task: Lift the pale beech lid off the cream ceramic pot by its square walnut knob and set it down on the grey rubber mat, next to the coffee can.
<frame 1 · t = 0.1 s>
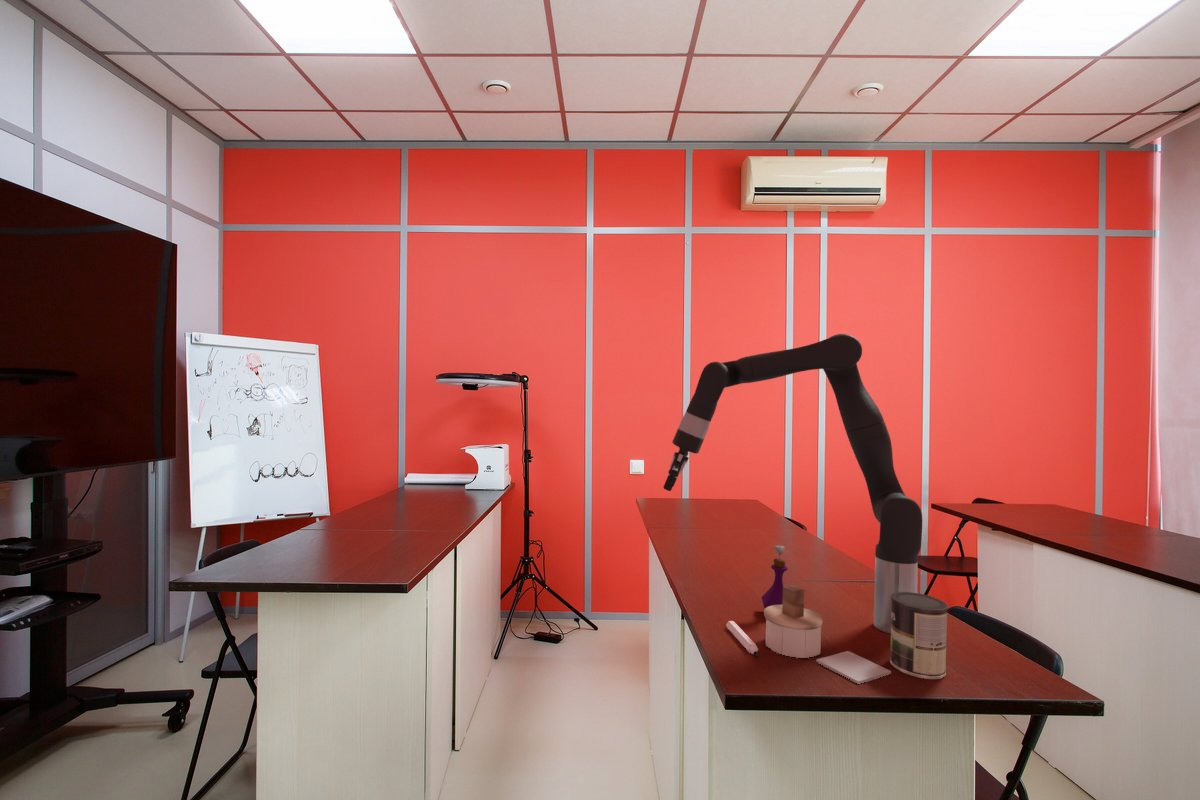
hand: (668, 487, 145), 31 cm above the table, tool tilted 20°, fingers open, 8 cm apart
perfume bottle: (777, 616, 139), on the table
marker: (743, 645, 122), on the table
coffee can: (917, 668, 113), on the table
mat: (852, 668, 112), on the table
lid: (792, 618, 121), point 6 cm above the table, touching pot
pot: (792, 647, 121), on the table
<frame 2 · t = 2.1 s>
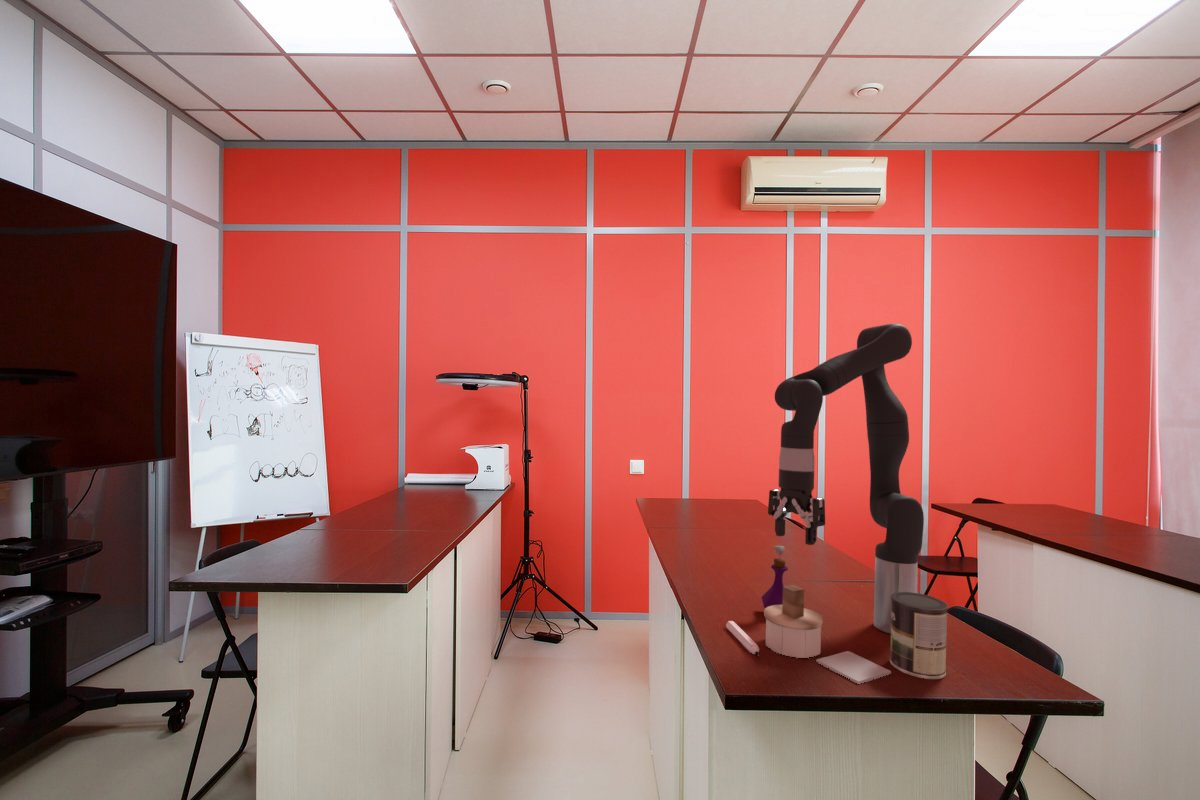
hand: (794, 539, 121), 24 cm above the table, tool pointing down, fingers open, 8 cm apart
nothing on the table moved.
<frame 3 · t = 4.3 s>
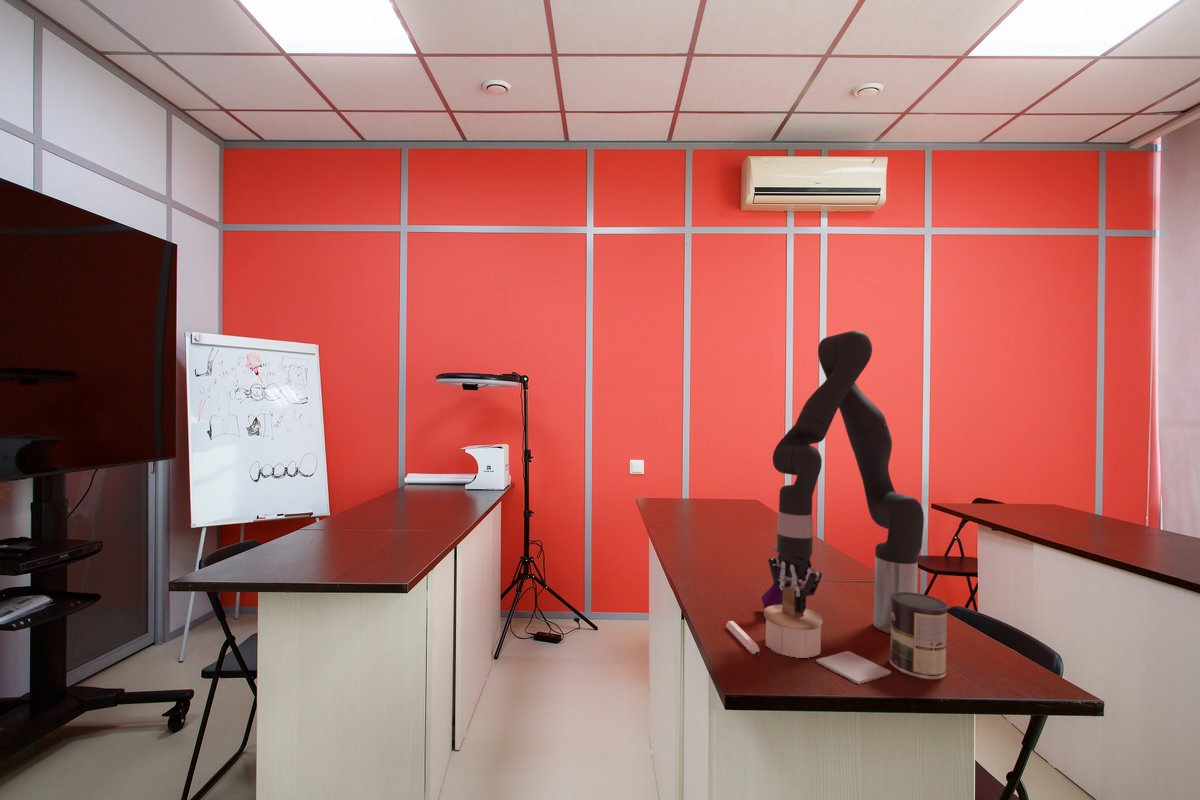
hand: (792, 609, 121), 8 cm above the table, tool pointing down, fingers closed on lid, 3 cm apart
lid: (792, 618, 121), point 6 cm above the table, touching gripper, pot
everything else where it was.
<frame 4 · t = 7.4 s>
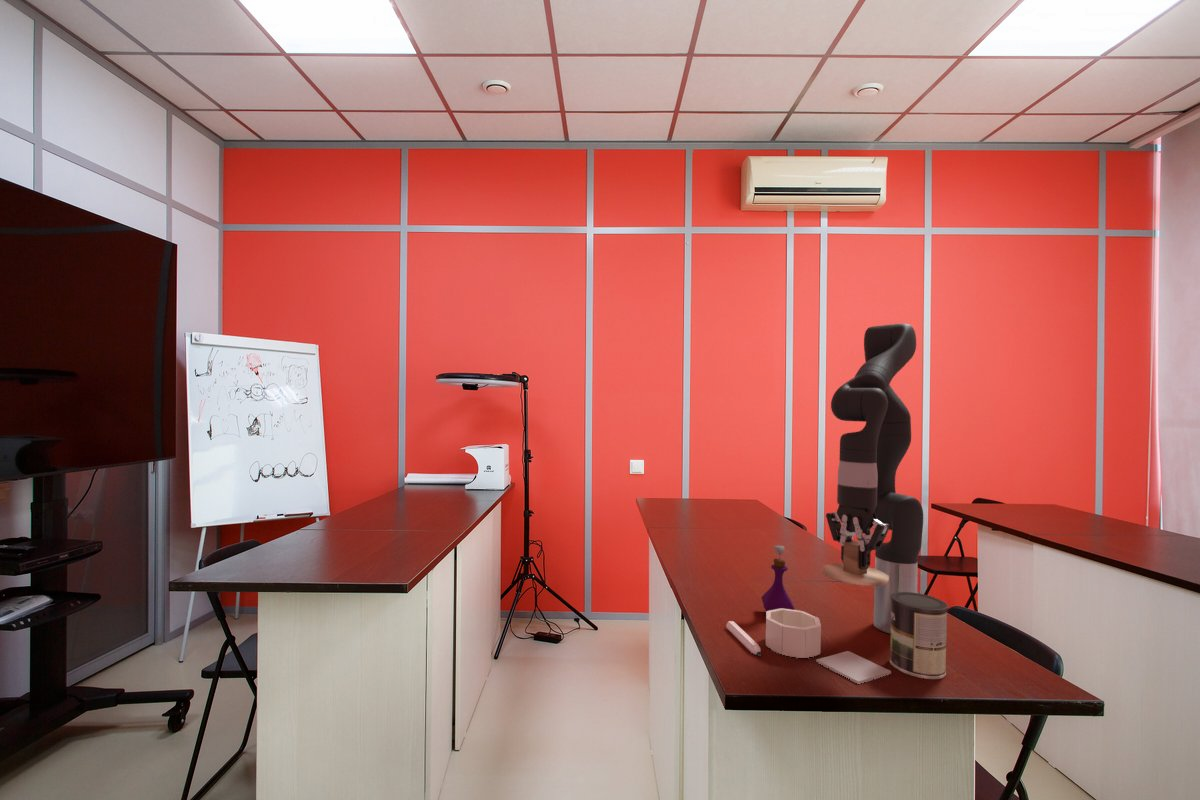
hand: (855, 565, 112), 21 cm above the table, tool pointing down, fingers closed on lid, 3 cm apart
lid: (854, 575, 112), point 19 cm above the table, touching gripper
everything else where it was.
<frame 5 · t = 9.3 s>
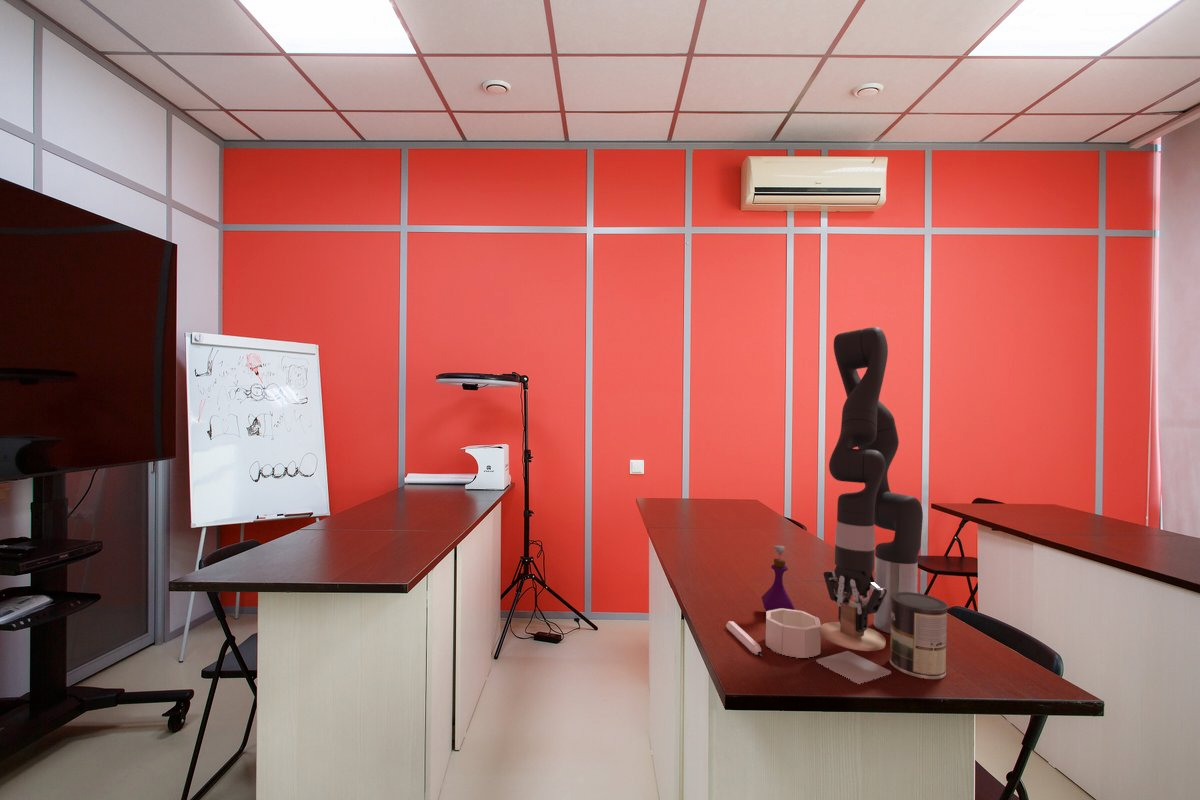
hand: (852, 627, 112), 8 cm above the table, tool pointing down, fingers closed on lid, 3 cm apart
lid: (851, 637, 112), point 6 cm above the table, touching gripper
everything else where it was.
when the fingers open (4 cm above the table, at t = 10.7 s): lid drops 1 cm, resting on mat.
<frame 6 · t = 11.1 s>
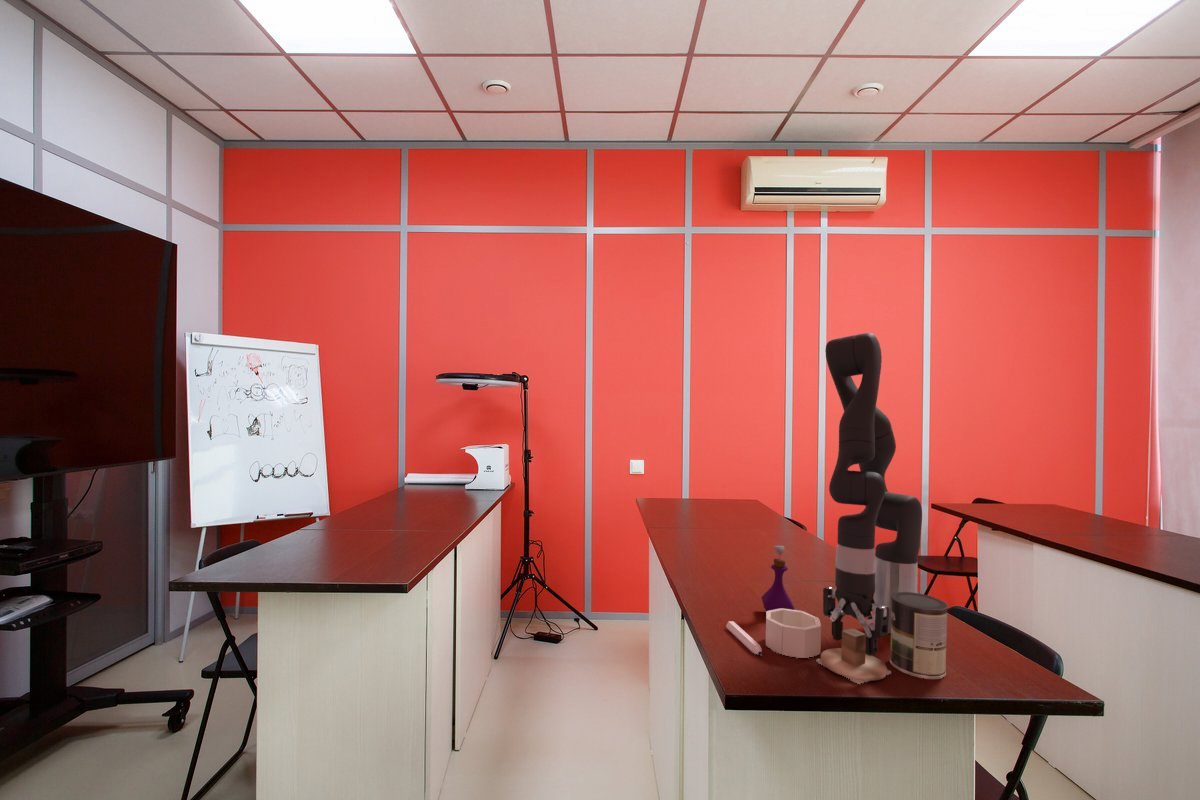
hand: (853, 646, 112), 4 cm above the table, tool pointing down, fingers open, 7 cm apart
lid: (853, 665, 111), point 1 cm above the table, touching mat
everything else where it was.
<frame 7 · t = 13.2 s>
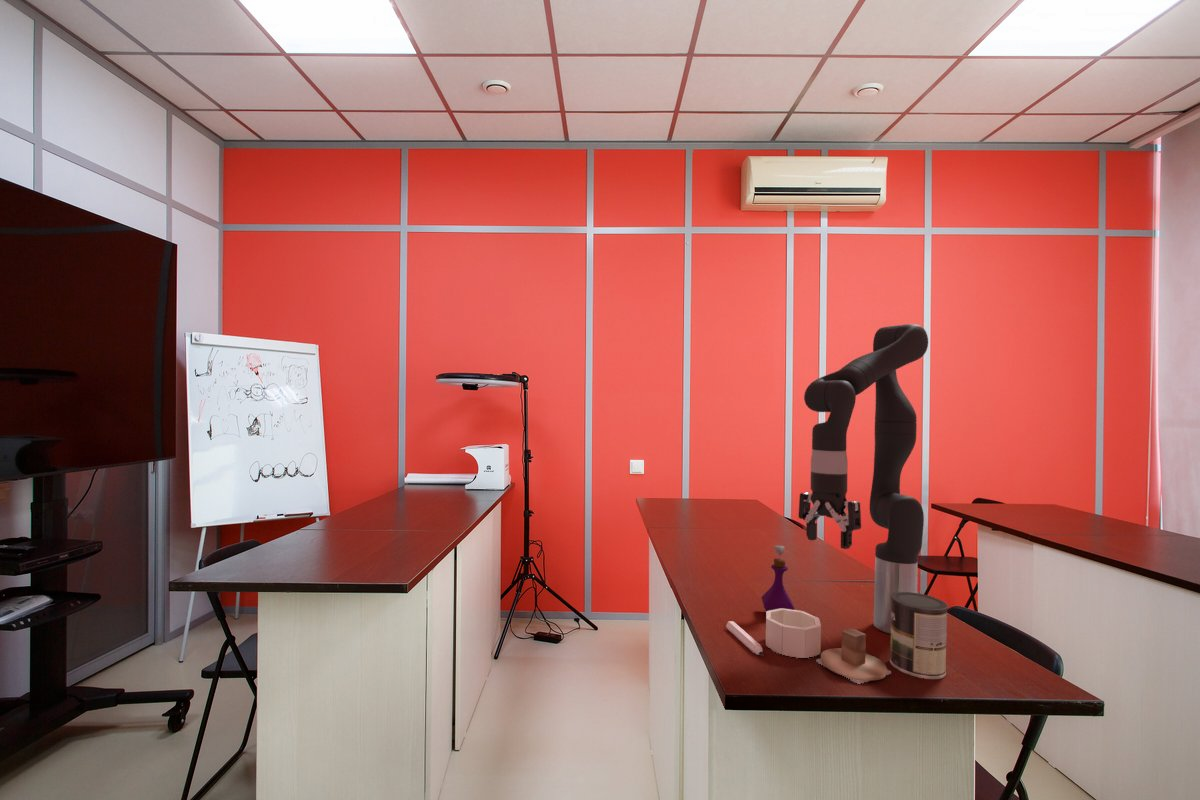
hand: (828, 543, 119), 24 cm above the table, tool pointing down, fingers open, 8 cm apart
nothing on the table moved.
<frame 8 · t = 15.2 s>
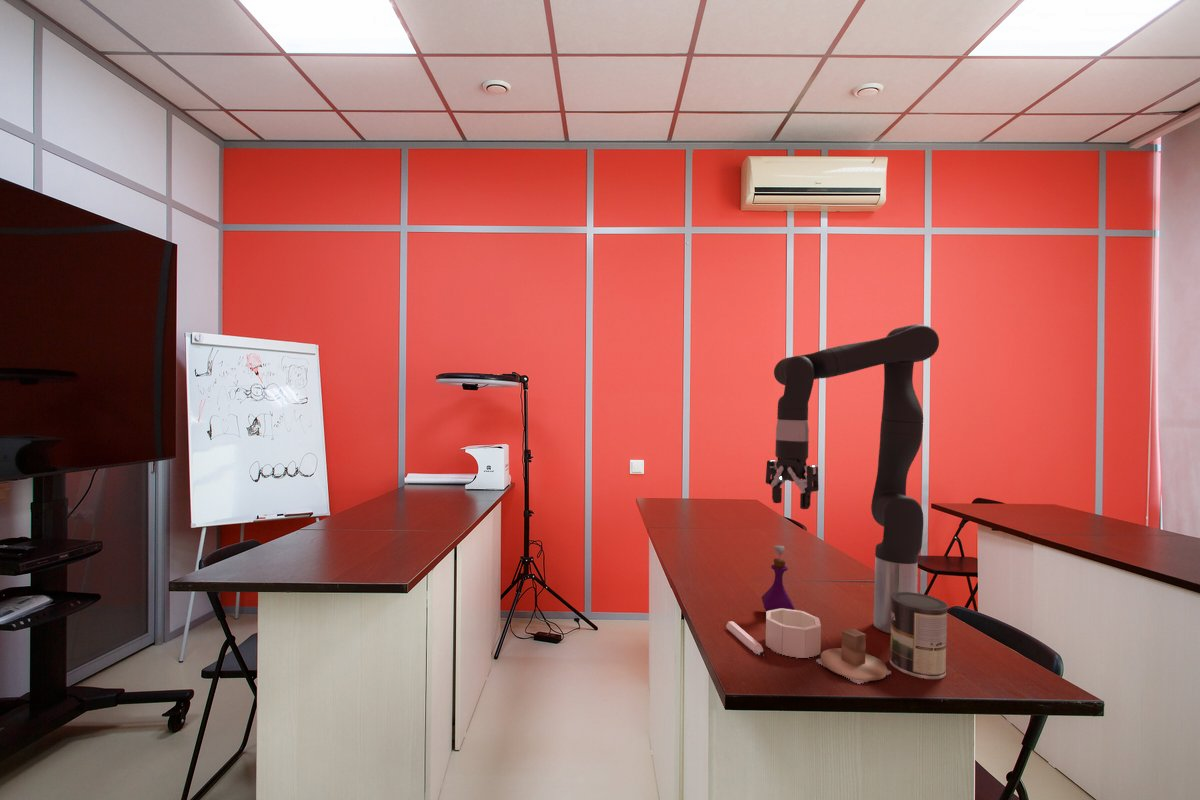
hand: (790, 505, 130), 30 cm above the table, tool pointing down, fingers open, 8 cm apart
nothing on the table moved.
at the end: lid inside the target area on the mat (0.1 cm from its centre), point 0.6 cm above the mat's base; lid tilted 0°; lid touching mat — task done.
